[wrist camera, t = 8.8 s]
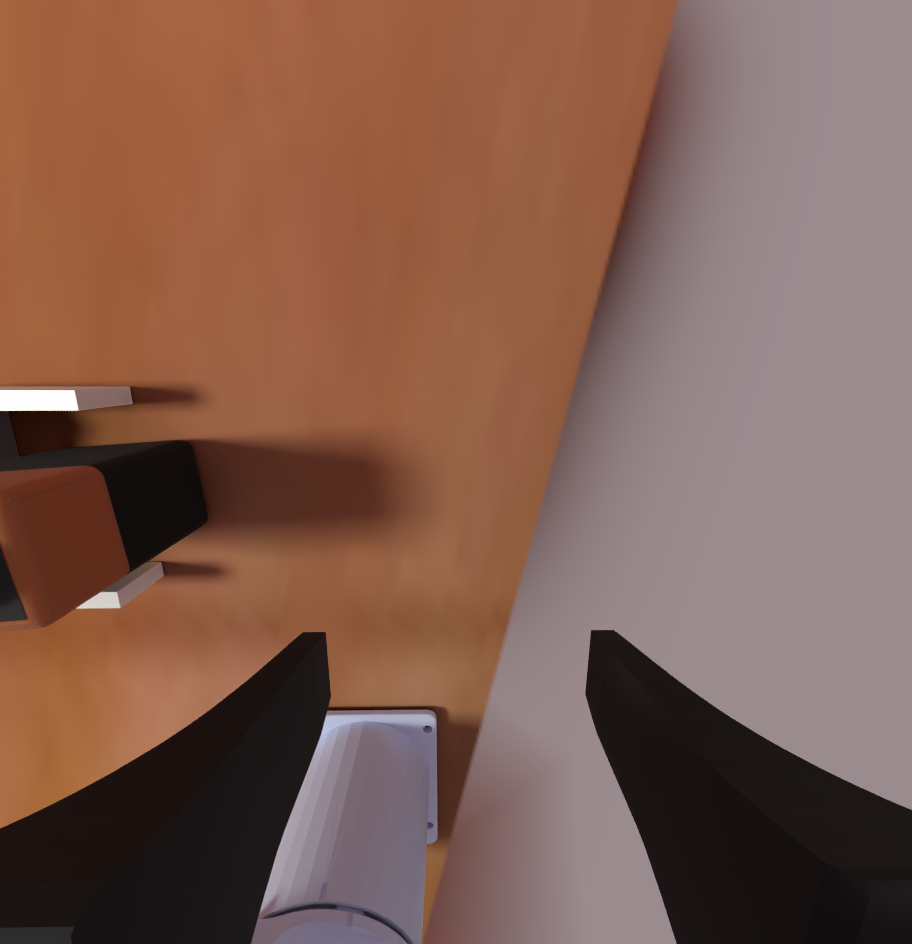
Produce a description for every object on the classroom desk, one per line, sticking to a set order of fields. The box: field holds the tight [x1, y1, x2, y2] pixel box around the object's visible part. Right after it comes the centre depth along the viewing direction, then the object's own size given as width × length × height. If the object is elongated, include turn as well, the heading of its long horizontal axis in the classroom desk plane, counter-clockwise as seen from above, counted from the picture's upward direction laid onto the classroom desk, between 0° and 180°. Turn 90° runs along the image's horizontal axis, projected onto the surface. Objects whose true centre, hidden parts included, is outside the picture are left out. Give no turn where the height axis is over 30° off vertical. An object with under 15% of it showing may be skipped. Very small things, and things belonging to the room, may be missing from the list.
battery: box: [0, 440, 208, 631], centre depth 16 cm, size 4×7×10 cm, turn 94°
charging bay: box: [0, 386, 164, 608], centre depth 19 cm, size 10×7×3 cm
